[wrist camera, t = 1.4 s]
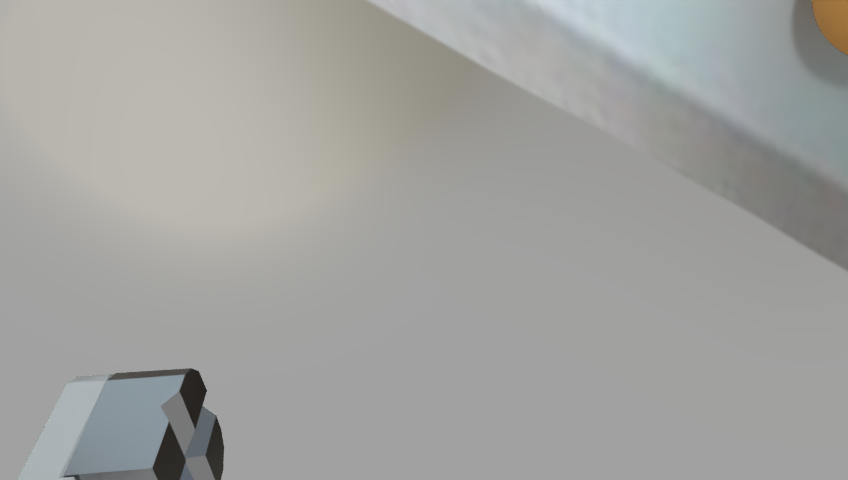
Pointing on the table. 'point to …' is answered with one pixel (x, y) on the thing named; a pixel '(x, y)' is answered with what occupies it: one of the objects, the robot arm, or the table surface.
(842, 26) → the ball
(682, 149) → the table surface
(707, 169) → the table surface
